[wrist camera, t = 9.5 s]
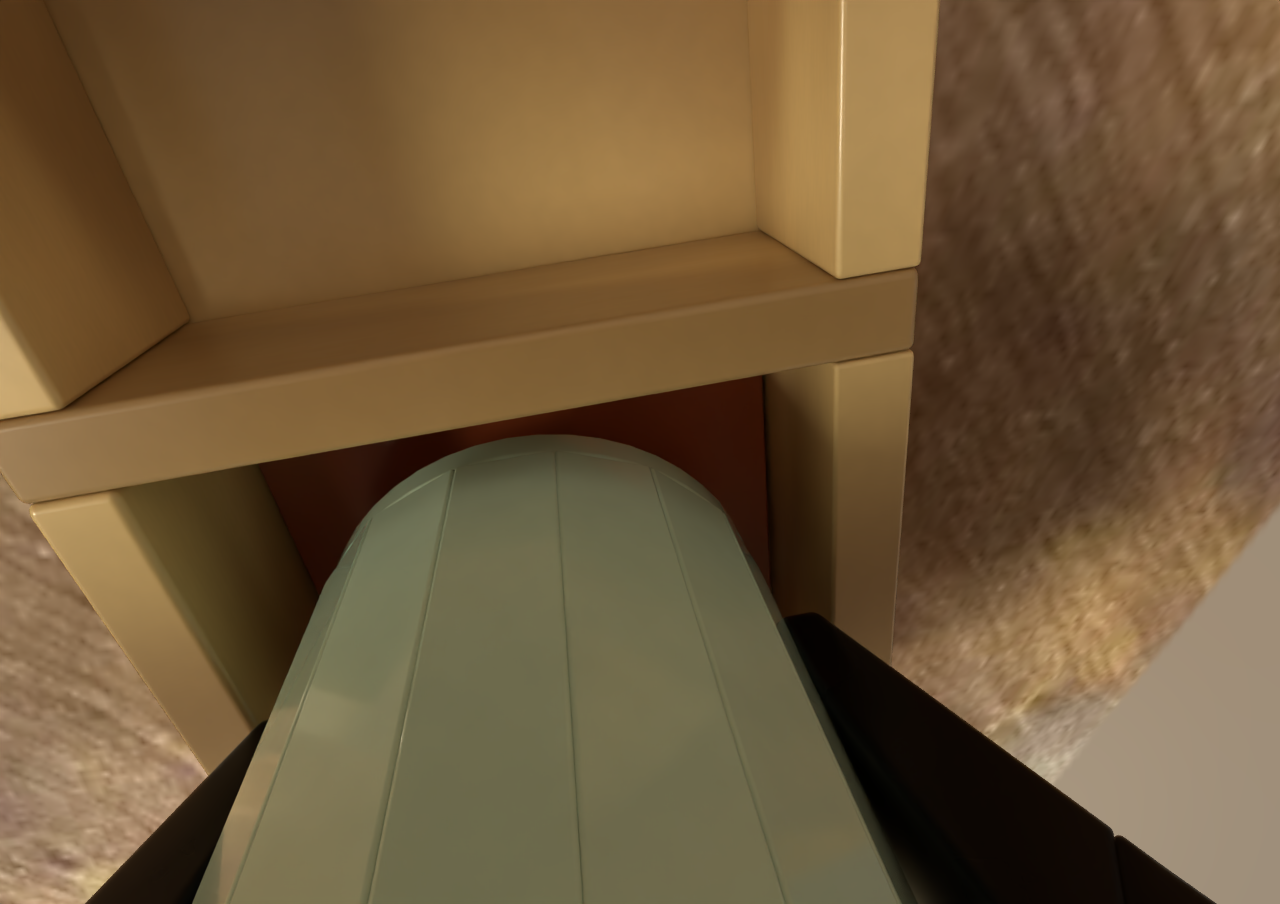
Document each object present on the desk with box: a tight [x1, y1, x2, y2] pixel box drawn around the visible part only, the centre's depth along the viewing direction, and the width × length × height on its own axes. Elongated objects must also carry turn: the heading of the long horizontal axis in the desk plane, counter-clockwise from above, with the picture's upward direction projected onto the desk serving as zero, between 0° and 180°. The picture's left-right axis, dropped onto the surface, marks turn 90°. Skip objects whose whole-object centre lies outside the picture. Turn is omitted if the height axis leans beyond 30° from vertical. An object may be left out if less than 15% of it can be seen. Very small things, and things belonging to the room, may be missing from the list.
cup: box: [192, 434, 918, 904], centre depth 6 cm, size 5×5×7 cm
